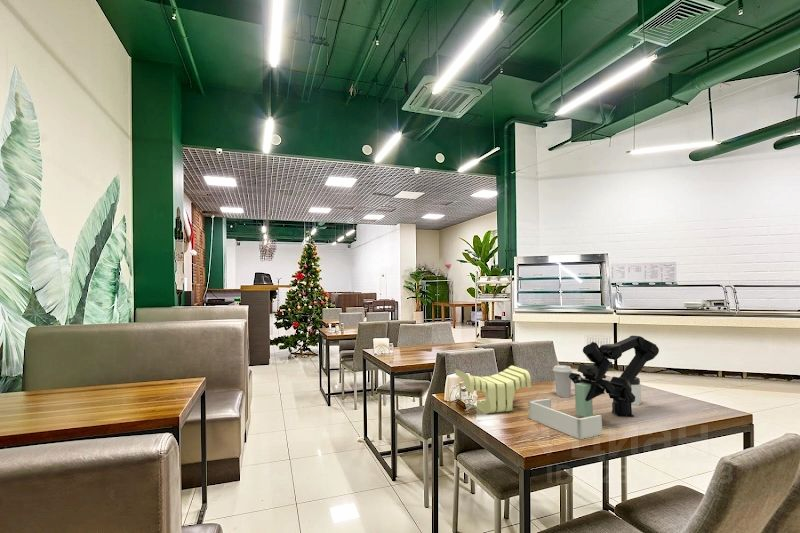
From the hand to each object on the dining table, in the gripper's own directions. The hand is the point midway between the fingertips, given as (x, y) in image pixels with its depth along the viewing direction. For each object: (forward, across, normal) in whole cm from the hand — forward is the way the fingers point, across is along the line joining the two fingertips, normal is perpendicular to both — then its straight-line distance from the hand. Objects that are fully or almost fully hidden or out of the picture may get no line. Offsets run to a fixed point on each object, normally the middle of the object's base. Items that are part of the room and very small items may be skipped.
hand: (581, 399), depth 157 cm
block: (+4, 0, +6) cm, 7 cm away
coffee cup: (-11, -34, +25) cm, 43 cm away
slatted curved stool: (+22, -30, -9) cm, 39 cm away
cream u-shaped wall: (+13, 0, 0) cm, 13 cm away
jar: (-25, -11, +39) cm, 47 cm away
